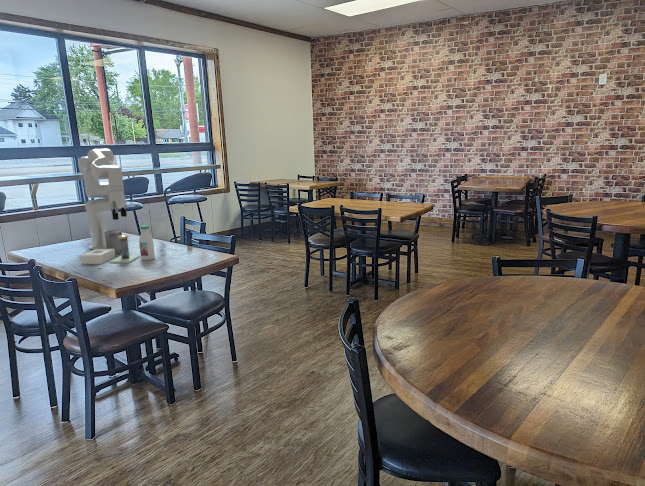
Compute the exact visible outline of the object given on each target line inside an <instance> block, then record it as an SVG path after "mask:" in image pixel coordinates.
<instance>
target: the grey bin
mask: <svg viewBox="0 0 645 486" xmlns="http://www.w3.org/2000/svg"><path fill="white" fill-rule="evenodd" d="M122 235H123V234H122V230H121V229H116V230H115V229H111V230H106V232H105V239H106V247H107V248H106V249H115V255H119V254H120V255H121V250H120V242H119V239H118V236H122Z"/></svg>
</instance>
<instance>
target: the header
mask: <svg viewBox="0 0 645 486" xmlns="http://www.w3.org/2000/svg"><path fill="white" fill-rule="evenodd" d="M115 258H117V257H116V254H115V249H107V248H104V249H91V250H90V251H87V252H85V253H82V254H80V262H81V265H82V264H83V265H91V264H92V265H93V264H94V265H96V264H97V265H99V264H100V265H102V264H104V263H105V262H109V261H111V260H113V259H115Z"/></svg>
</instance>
